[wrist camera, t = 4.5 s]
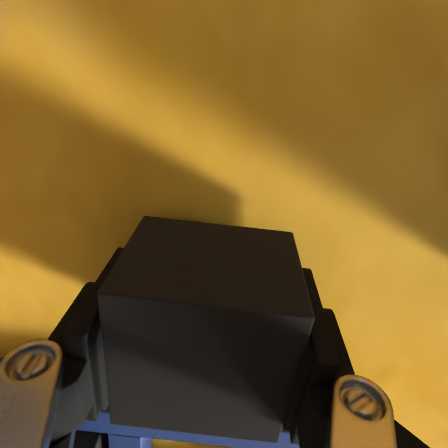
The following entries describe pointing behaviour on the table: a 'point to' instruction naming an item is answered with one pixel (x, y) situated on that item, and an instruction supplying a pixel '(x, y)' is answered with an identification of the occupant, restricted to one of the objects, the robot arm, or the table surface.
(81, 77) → the table surface
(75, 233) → the table surface
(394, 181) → the table surface
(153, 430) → the frame
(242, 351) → the pad
